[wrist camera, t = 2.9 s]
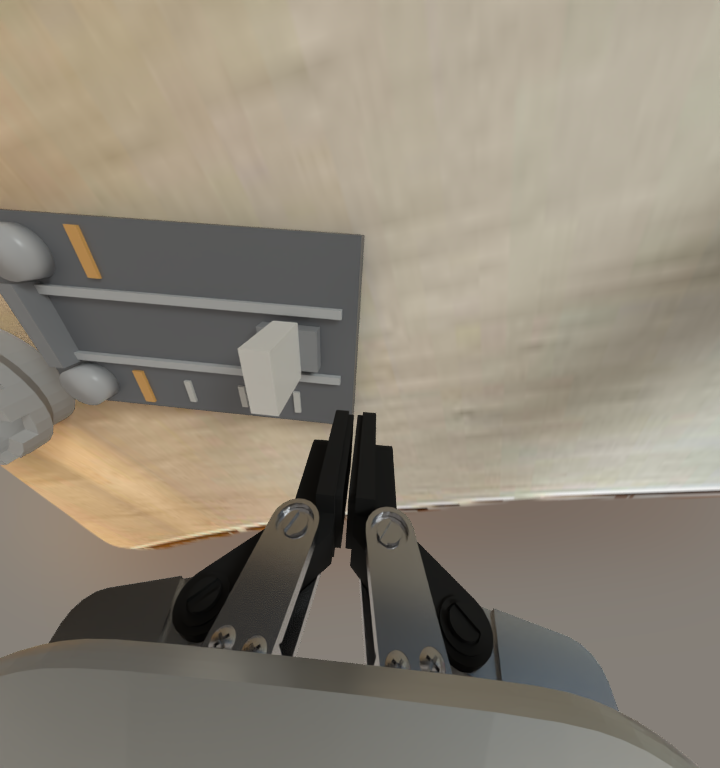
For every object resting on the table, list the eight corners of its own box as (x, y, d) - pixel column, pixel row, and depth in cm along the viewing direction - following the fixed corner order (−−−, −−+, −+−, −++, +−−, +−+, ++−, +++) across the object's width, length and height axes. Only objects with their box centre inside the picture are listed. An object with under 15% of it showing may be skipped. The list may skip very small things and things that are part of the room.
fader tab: (319, 319, 17) (293, 354, 12) (320, 372, 19) (299, 418, 14) (261, 314, 17) (213, 346, 12) (268, 367, 19) (230, 411, 14)
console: (364, 234, 16) (359, 236, 13) (353, 411, 23) (349, 438, 20) (-6, 208, 17) (-89, 203, 14) (96, 384, 24) (55, 406, 21)
